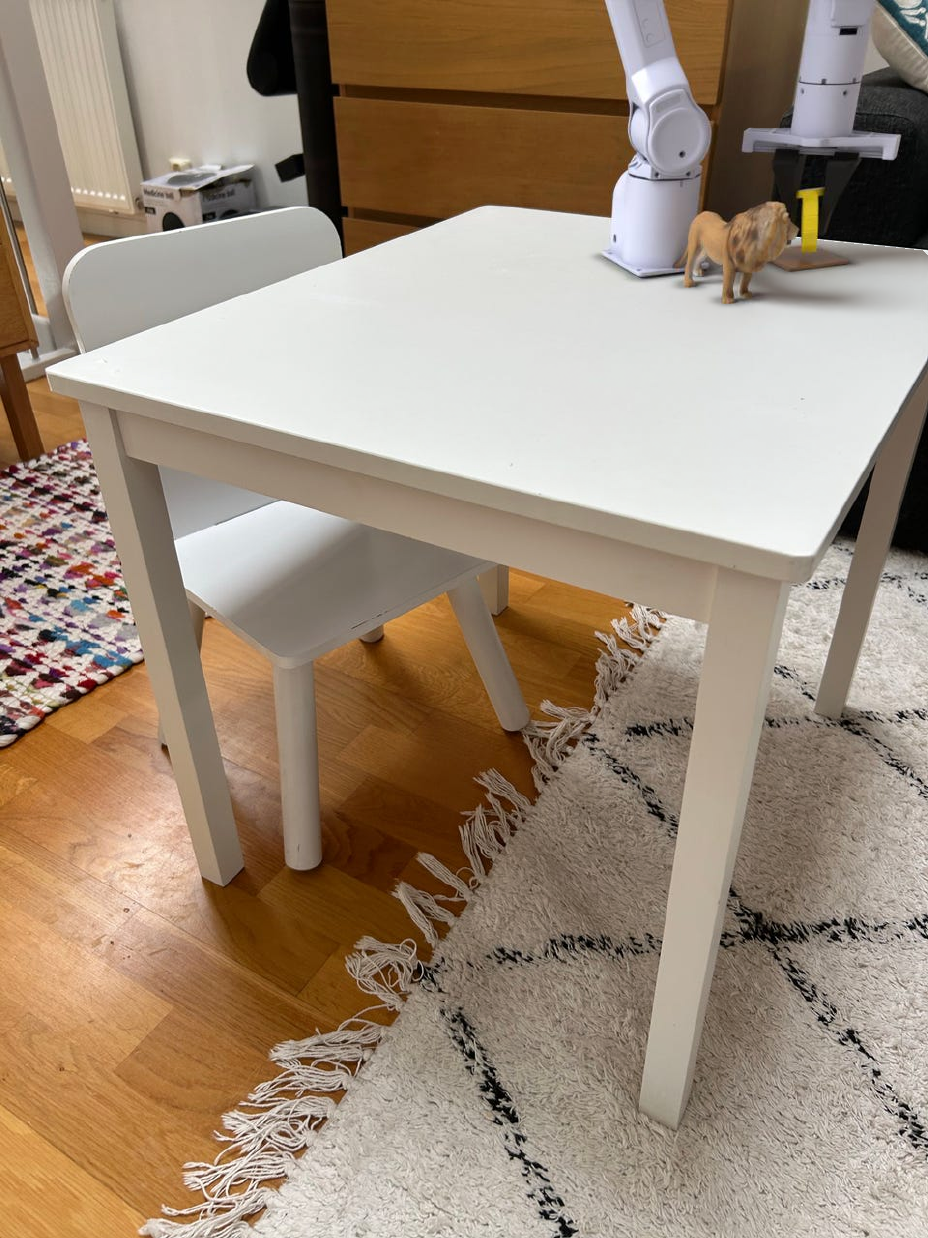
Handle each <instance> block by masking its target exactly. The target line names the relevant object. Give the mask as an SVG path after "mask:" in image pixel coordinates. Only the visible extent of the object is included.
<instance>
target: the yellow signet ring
mask: <svg viewBox="0 0 928 1238" xmlns="http://www.w3.org/2000/svg"><path fill="white" fill-rule="evenodd" d="M824 188H825V187H814V188H806V189H799V190H798V191H796V198H798V199H801V229H800V230H801V231H800V236H801V237H800V238H801V239H800V246H801V250H802V253H808V252H816V250H817V248H818V235H817V234H818V219H819V197H821V196H823V195H824Z"/></svg>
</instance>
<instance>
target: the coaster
mask: <svg viewBox="0 0 928 1238" xmlns="http://www.w3.org/2000/svg"><path fill="white" fill-rule="evenodd" d="M769 263H771V264H772V265H775V266H778V267H779V268H782V269H784V270H786V271H788V272H792V271H793V272H795V271H802V270H811V269H817V268H826V267H834V266H842V265H847V264H850V260H849V259H847V258H844V257H841V256H839V255H838V254H834V253H832V252H829V251H827V250H824V249H822V248H819V247H817V250H816V252H808V253H802V250H801V245H795V246H790V247H789V248H784V250H783V252H782V253H781V254H780V255H779V256H778V257H777V258H775V259H774V260H773V261H770V262H769Z"/></svg>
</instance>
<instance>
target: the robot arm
mask: <svg viewBox="0 0 928 1238" xmlns="http://www.w3.org/2000/svg"><path fill="white" fill-rule="evenodd" d="M876 1H877V0H810V4H809V10H808V16H807V23H806V25H805V26H806V27H805V33H804V38H803V39H804V40H803V46H802V53H801V60H800V67H799V73H798V79H797V85H796V90H795V91H796V92H795V99H794V105H793V114H792V118H791V119H792V120H791V125H790V127H781V128H780V127H776V128H772V127H771V128H765V127H764V128H759V127H757V128H756V127H755V128H754V127H749V128H747V129H746V130H744V131H743V136H742V137H743V138H742V146H741V152H742V153H753V152H759V153H760V152H761V153H774V156H773V159H771V170H772V172H773V175H774V178H775V181H776V184H777V188H778V193H779V197H780V203H783V204H785V208H786V212H787V213H788V218H789V219H790V222H792V223H793V224H794V225H796V220H797V213H798V204H799V198H796V191H798V190H801V183H802V179H803V175H804V174H803V173H804V170H805V164H806V161H807V156H808V155H817V156H819V155H820V156H833V158H830V159H829V160H828V161H827V162H826V168H825V169H826V170H825V179H824V187H823V188H824V195H822V196H823V197H822V203H821V206H820V211H819V214H818V234H817V236H824V235H825V234H826V233H827V231H828V227H829V224H830V221H831V218H832V216H833V212H834V210H835V208H836V205H837V204H838V201H839V200H840V197H841V196H842V194H843V192H844V190H845V188H846V186H847V184H848V182H849V181H850V179H851V178H852V176H853V174H854V173H855V171H856V169H857V168H858V167H859V165H860V163H861V161H863V160H862V159H863V158H874V159H875V158H876V159H882V160H887V161H894V160H895V159H896V158H897V157H898V151H899V147H900V142H901V137H902V135H901V134H895V133H894V134H893V133H881V132H873V131H862V130H854V129H853V128H854V122H855V118H856V111H857V107H858V102H859V95H860V90H861V84H862V80H863V75H864V69H865V64H866V58H867V52H868V46H869V41H870V37H871V30H872V23H873V17H874V11H875V6H876ZM604 2H605V6H606V9H607V12H608V16H609V20H610V24H611V27H612V31H613V34H614V38H615V41H616V45H617V48H618V53H619V56H620V59H621V64H622V66H623V70H624V73H625V86H626V87H625V90H626V95H627V98H628V103H629V119H628V124H627V125H628V126H627V132H628V139H629V142H630V144H631V147H632V148H633V149H634V151H636V154H634V156H633V157H632V159H631V161H630V163H629V164H628V167H627V169H626V170H625V171H624V172H623V173H622V174H621V176H620V177H619V178H618V180H617V182H616V184H615V186H614V188H613V192H612V205H611V219H610V220H611V222H610V238H609V239H610V241H609V249H603V250H602V251H601V255H602V256H603V257H605V258H606V259H608V260H609V261H610V262H611V261H612V262H613V263H615V264H617V265H618V266H620V267H622V268H623V269H625V270H626V271H628V272H629V273H632V274H633V275H635V276H636V277H641V278H642V277H650V276H659V275H667V274H676V273H683V272H685V267H686V264H687V260H688V258H687V259H686V261H685V262H684V263H683V264H682V265H681V267H680V268H672V267H673V265H674V264H675V263H676V262H678V261H679V260H680V259H681V258H682V257H683V255H684V254H685V251H686V249H687V246H688V236H689V231H690V227H691V224H692V222H693V220H694V219H695V217H696V216H697V215H698V211H699V202H700V192H701V182H702V173H703V166H702V165H701V163H702V161H703V160H704V159H705V158H706V155H707V153H708V151H709V148H710V145H711V141H712V127H711V122H710V120H709V118H708V116H707V113H706V112H705V111H704V110H703V109H702V108H701V107H700V106H699V105H698V104H697V102H696V101H695V99H694V97H693V94H692V91H691V87H690V83H689V80H688V78H687V76H686V74H685V71H684V69H683V67H682V64H681V63H680V61H679V57H678V55H677V51H676V48H675V43H674V38H673V35H672V30H671V27H670V23H669V18H668V15H667V12H666V7H665V3H664V0H604ZM709 267H710V263H708V262H707V261H705V260H704V261H703V262H702V264H701V269H702V270H706V269H708V268H709Z"/></svg>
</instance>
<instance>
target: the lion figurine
mask: <svg viewBox="0 0 928 1238" xmlns="http://www.w3.org/2000/svg"><path fill="white" fill-rule="evenodd" d="M799 231H800V228H799V226H797V225H796V224H795V225H794V224H793V223H792V222H790V219H789V218H788V213H787V212H786V208H785V204H783V203H781V202H779V201H766V202H764V203H761V204H759V205H757V206H755V207H750V208H749V209H748V210H747V211H744V212H740V213H738V214H735V216H734V217H732V219H731V220H730V221H729V222H727V221H725V220H724V219H723V218H722V217H721V215H719V213H716V212H713V211H709V210H708V211H707V210H705V211H702V212H701V213H699V214H697V216H696V217H695V219H694V220H693V222H692V224H691V227H690V231H689V236H688V246H687V249H686V251H685V254H684V255H683V257H682V258H681V259H680V260H679V261H678V262H676V263H675V264H674V265H673V267H672V268H680V267H681V265H682V264H683V263H684V262H685V261H686V259H687V258H688V260H687V264H686V267H685V271H684V278H683V284H682V286H683V287H684V288H688V289H690V288H695V287H696V281H695V280H694V279H693V276H694V277H696V278H697V277H699V278H700V277H704V276H705V269H701V264H702V262H703V261H705V260H706V259H708V258H709V259H710V260H711V261H712V262H714V263H715V264H717V265H718V266H719V265H720V266H722V269H723V271H722V272H723V273H722V294H721V304H726V305H732V304H735V303H736V299H735V292H734V285H735V280H736V275H737V273H741V276H740V280H739V283H738V284H739V285H738V290H737V295H738V297H740V298H743V299H752V298H754V296H755V295H754V292H752V291H750V290H749V284H750V282H751V280H752V278H753V275H754V274H757V273H759V272H761V271H762V270H764V269H765V266H766V265H767V264H769V263H770V261H773V260H774V259H775V258H777V257H778V256H779V255H780V254H781V253H782V252H783V250H784V248H789V247H791V245H792V241H794V240H795V239H796V238H797V235H798V233H799Z"/></svg>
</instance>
